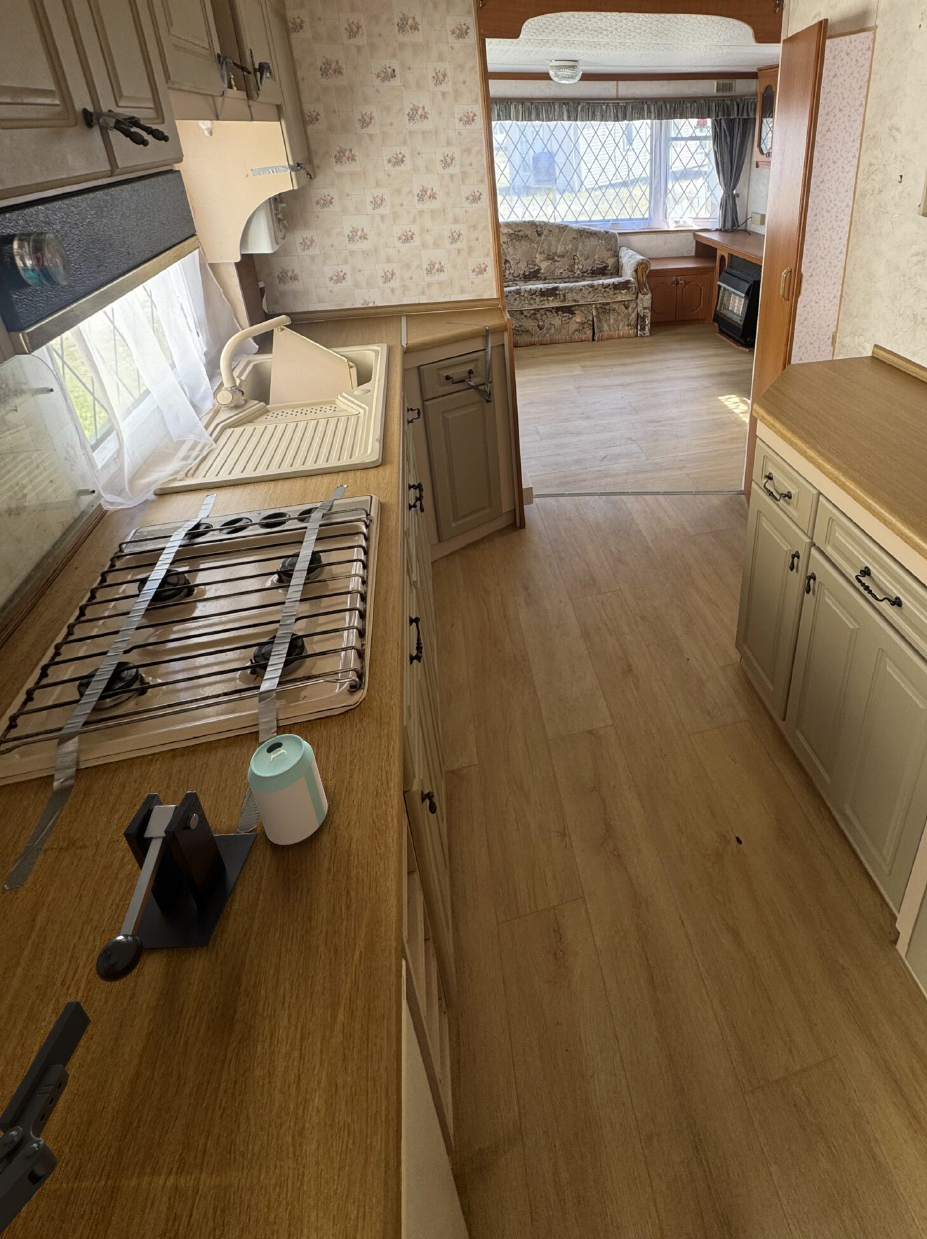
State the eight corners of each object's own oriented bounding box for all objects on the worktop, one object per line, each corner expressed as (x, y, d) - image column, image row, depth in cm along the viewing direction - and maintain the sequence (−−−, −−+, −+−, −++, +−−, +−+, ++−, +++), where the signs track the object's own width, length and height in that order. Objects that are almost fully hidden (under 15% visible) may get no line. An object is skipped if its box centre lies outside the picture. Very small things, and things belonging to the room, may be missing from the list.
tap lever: (141, 981, 62) (120, 980, 60) (102, 983, 62) (79, 983, 59) (195, 810, 71) (179, 803, 69) (161, 812, 71) (144, 805, 69)
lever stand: (210, 951, 69) (172, 868, 63) (121, 956, 68) (76, 873, 63) (260, 838, 80) (232, 759, 74) (184, 842, 79) (149, 763, 74)
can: (254, 843, 79) (229, 774, 74) (292, 791, 85) (271, 724, 80) (305, 856, 78) (284, 787, 73) (340, 801, 84) (322, 734, 79)
